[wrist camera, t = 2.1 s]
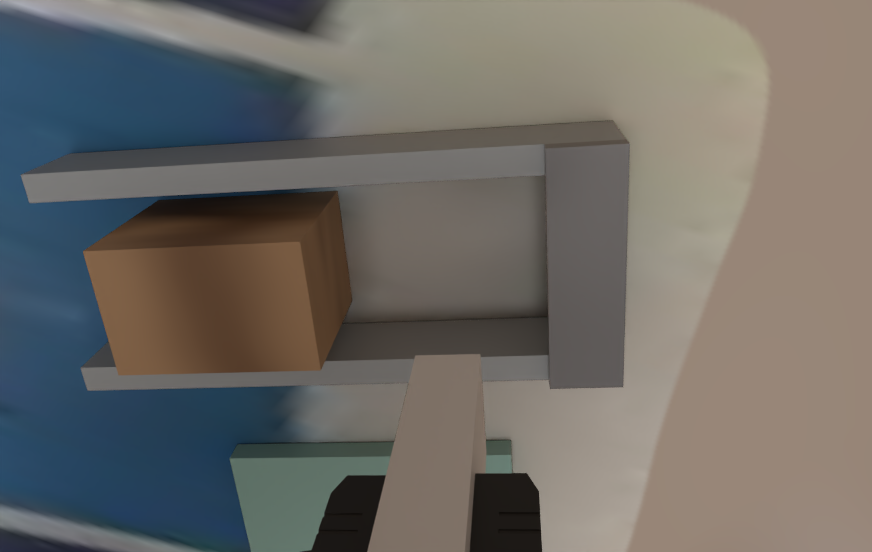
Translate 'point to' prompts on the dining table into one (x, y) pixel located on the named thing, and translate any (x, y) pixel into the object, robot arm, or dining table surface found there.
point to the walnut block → (224, 284)
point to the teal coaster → (310, 485)
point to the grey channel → (406, 163)
